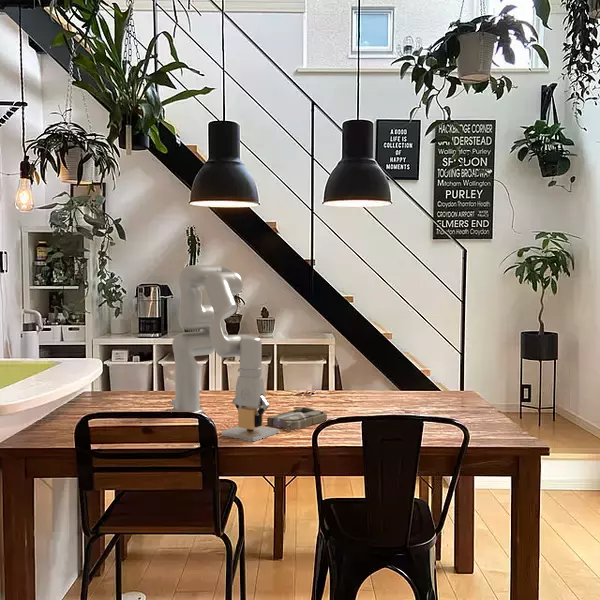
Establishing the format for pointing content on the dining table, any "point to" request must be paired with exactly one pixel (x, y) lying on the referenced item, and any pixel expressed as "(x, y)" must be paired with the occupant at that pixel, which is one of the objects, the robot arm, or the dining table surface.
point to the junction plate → (250, 433)
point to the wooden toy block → (247, 418)
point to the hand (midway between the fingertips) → (250, 424)
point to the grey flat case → (297, 418)
